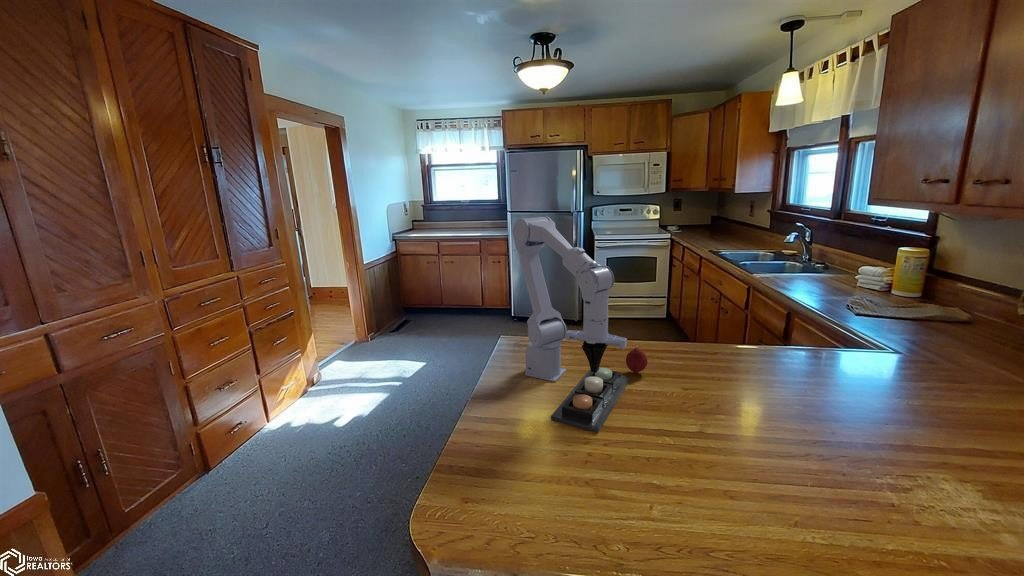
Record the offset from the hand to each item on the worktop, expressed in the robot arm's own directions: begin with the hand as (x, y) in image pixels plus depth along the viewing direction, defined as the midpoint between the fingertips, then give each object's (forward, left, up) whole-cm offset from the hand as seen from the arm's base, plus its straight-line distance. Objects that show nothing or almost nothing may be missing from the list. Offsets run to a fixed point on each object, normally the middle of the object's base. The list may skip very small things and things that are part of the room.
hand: (594, 370), depth 100 cm
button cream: (0, 0, -5) cm, 5 cm away
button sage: (0, +8, -6) cm, 10 cm away
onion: (+6, +19, -8) cm, 21 cm away
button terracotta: (0, -8, -6) cm, 10 cm away
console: (0, 0, -7) cm, 7 cm away
